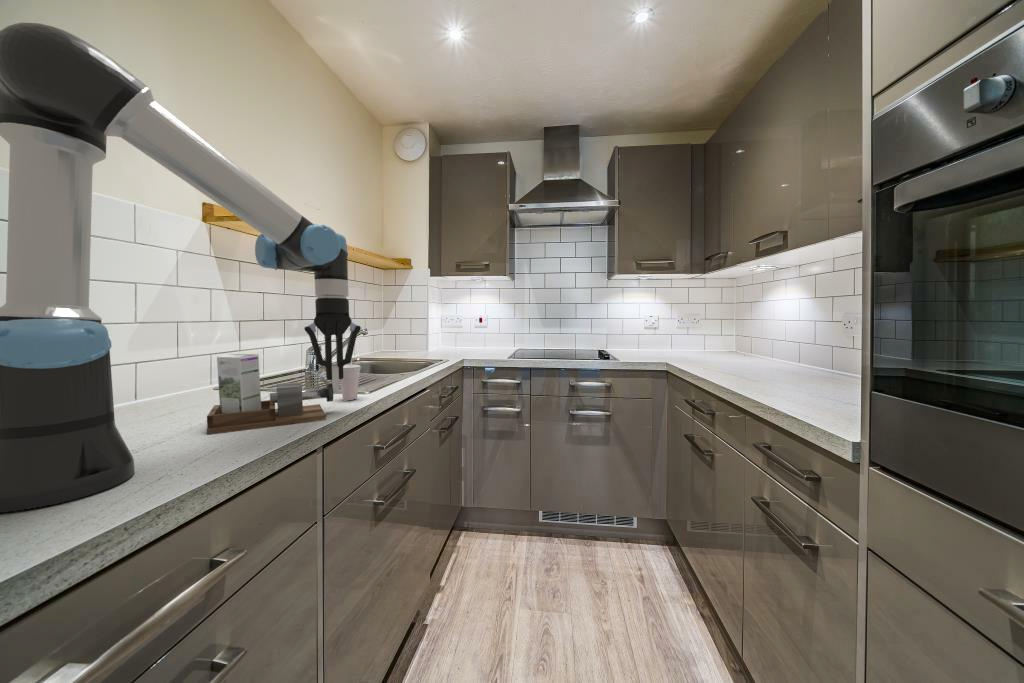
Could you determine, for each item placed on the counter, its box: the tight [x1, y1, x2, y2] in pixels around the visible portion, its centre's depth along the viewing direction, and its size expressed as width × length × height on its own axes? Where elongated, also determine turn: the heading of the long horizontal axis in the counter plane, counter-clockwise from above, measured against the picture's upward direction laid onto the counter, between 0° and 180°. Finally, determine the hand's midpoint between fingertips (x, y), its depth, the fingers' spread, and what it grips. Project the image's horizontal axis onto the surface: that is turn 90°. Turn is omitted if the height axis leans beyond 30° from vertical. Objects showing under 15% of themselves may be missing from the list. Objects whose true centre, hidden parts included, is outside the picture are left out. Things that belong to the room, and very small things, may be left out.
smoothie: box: [339, 358, 362, 401], centre depth 114 cm, size 6×6×14 cm
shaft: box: [269, 383, 334, 404], centre depth 95 cm, size 4×13×4 cm, turn 121°
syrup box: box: [216, 353, 262, 414], centre depth 89 cm, size 6×6×14 cm
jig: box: [206, 381, 327, 435], centre depth 92 cm, size 14×22×8 cm, turn 121°
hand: (335, 392), depth 99 cm, fingers closed
